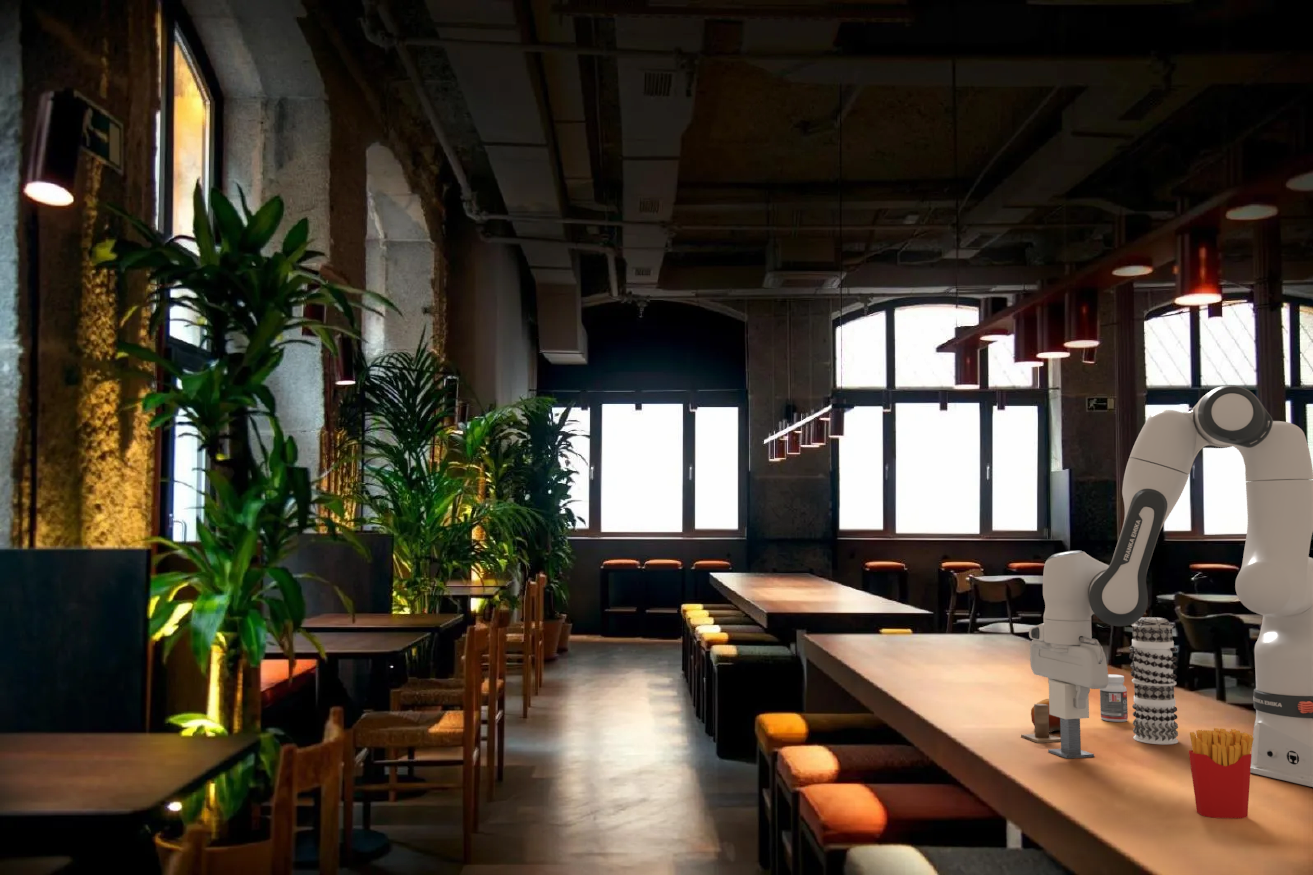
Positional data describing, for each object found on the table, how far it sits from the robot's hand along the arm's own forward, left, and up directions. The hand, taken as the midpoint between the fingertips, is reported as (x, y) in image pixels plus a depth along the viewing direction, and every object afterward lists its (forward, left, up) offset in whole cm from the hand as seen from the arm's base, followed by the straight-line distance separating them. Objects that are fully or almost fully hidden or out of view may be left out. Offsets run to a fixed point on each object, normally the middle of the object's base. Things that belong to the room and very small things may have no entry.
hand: (1069, 705), depth 215 cm
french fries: (-43, +3, -10) cm, 44 cm away
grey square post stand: (0, 0, -9) cm, 9 cm away
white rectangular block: (0, 0, -2) cm, 2 cm away
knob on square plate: (+14, -3, -9) cm, 17 cm away
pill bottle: (+28, -31, -10) cm, 43 cm away
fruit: (+21, -10, -10) cm, 25 cm away
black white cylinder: (+7, -25, -10) cm, 28 cm away
